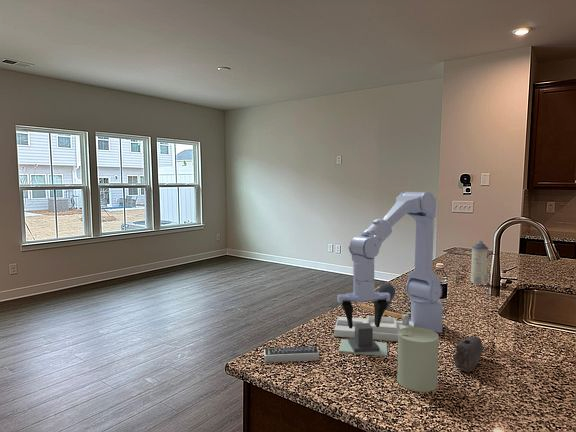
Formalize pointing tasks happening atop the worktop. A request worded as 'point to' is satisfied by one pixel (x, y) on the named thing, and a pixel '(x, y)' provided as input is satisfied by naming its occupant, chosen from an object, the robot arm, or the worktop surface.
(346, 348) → the mat
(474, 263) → the aerosol can
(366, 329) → the plug
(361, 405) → the worktop surface
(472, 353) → the perforated stone tool
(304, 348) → the multiport hub
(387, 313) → the hammer
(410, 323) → the white panel
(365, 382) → the worktop surface
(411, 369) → the can
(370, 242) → the robot arm
